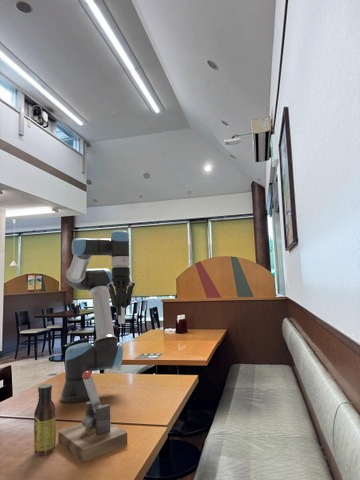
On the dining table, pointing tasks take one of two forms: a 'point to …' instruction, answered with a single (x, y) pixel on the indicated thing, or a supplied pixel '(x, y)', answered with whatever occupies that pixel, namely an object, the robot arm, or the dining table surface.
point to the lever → (94, 399)
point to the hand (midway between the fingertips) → (121, 323)
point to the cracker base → (93, 436)
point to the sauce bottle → (44, 422)
